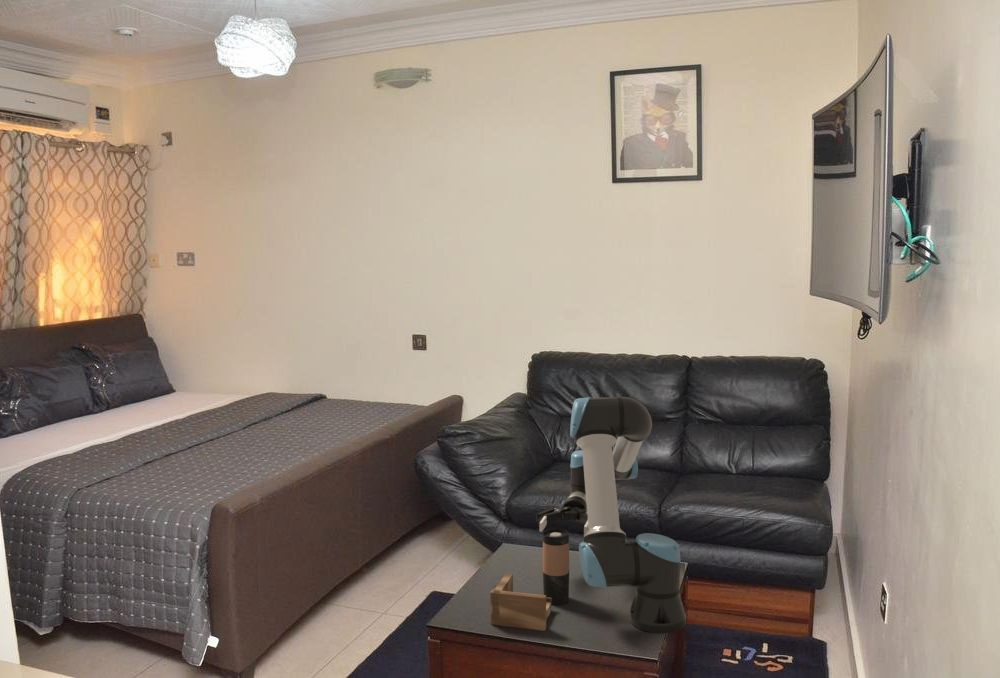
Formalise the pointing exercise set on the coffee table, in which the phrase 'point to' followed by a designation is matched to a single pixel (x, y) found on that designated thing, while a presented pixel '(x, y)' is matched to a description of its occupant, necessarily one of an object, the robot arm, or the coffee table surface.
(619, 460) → the robot arm
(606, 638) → the coffee table surface
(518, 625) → the wooden holder
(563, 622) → the coffee table surface
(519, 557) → the coffee table surface
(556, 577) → the travel mug
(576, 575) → the coffee table surface
